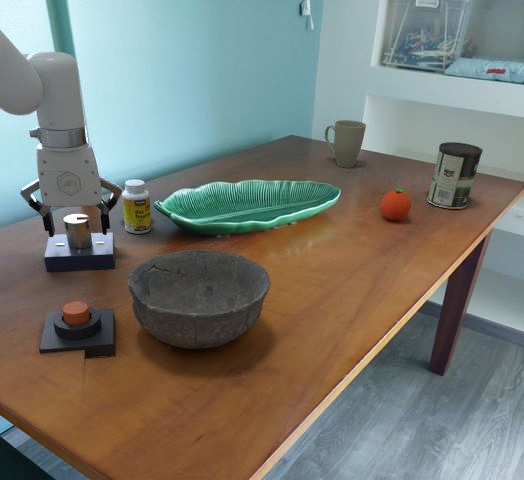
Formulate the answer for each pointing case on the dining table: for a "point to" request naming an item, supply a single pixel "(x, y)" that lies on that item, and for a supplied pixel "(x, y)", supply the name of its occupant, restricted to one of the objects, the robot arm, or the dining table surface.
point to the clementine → (396, 204)
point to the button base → (80, 334)
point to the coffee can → (454, 174)
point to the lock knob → (78, 231)
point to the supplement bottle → (136, 207)
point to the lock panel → (80, 254)
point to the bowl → (198, 296)
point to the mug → (346, 141)
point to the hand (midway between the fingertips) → (78, 233)
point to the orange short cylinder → (76, 313)
